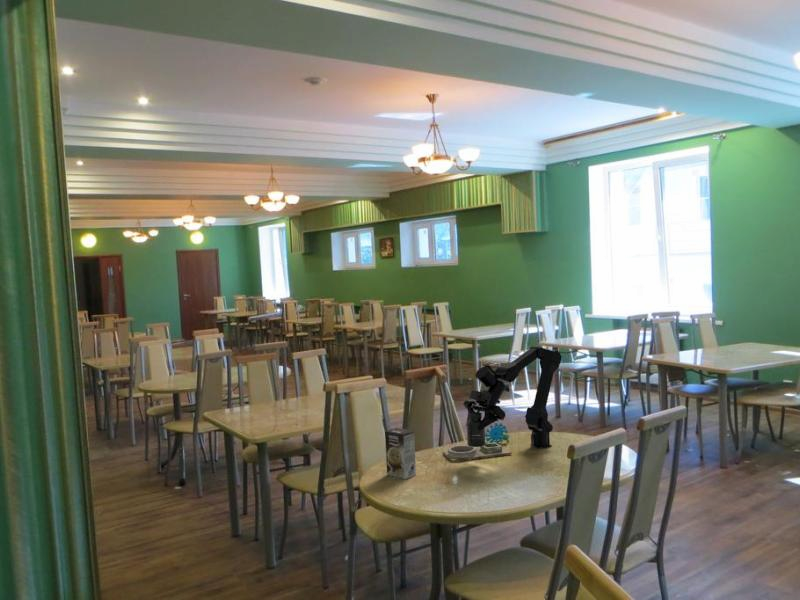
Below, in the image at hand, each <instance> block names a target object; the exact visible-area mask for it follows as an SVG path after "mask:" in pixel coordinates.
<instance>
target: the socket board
mask: <svg viewBox="0 0 800 600" xmlns="http://www.w3.org/2000/svg"><path fill="white" fill-rule="evenodd" d="M443 454H444V455H445V456H444V455H443ZM511 454H512V451H510V450H508V449H507V448H506V447H504V446H502V445H500V444H497V443H496V442H495V443H494V442H493V443H490V442H487V443H485V445H484V446H481V447H471V446H468V444H467V445H466V444H465V445H464V444H463V445H453V446H450V447H448V449H447V451H442V455H443V456H444V457H445V458H447V459H448V458H449V459H450V461H451V462H452V463H457V462H456V461H460V462H464V461H463V460H468V461H471V460H470V459H476V460H480V459H479V458H484V459H489V458H488V457H491V458H496V457H495V456H499V457H504V456H503V455H507V456H512V455H511ZM449 459H448V460H449Z"/></svg>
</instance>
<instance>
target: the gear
mask: <svg viewBox="0 0 800 600" xmlns="http://www.w3.org/2000/svg"><path fill="white" fill-rule="evenodd" d="M489 428H490V429H489ZM489 428H487V429H485V442H488V443H495V442H496V443H497V444H498V442H500V443H502V442H503V440H504V441H506V442H507V443H510V440H509V438H510V436H509V434H507V433H508V429H507V426H506V425H505V424H503V423H502V422H500V423H498V422H494V426H493V424H490V425H489ZM504 433H505V434H504Z"/></svg>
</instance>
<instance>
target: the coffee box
mask: <svg viewBox="0 0 800 600" xmlns="http://www.w3.org/2000/svg"><path fill="white" fill-rule="evenodd" d="M384 440H385V442H384V443H385V455H386V456H385V459H386V460H385V462H386V475H387V476H389V477H390V476H391V477H395V478H399V479H403V480H406V479H409V478H411V477H414V476H417V471H416V470H417V469H416V449H415V448H416V444H415V443H416V442H415V440H416V439H415V431H414V430H410V429H409V430H408V429H403V428H399V427H395V428H391V429H388V430H385V431H384Z"/></svg>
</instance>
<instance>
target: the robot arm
mask: <svg viewBox="0 0 800 600" xmlns="http://www.w3.org/2000/svg"><path fill="white" fill-rule="evenodd" d="M537 359H538V360H539V363H538V364H539V367H540V370H541V371H540V375H539V380H538V384H537V388H536V393H535V397H534V401H533V404H532V406H530V407H527V408H526V412H525V416H524V418H525V424H526V425H527V428H528V430H530V431H531V434H530V445H531V446H532V447H534V448H537V449H540V448H541V449H543V448H549V447H553V445H552V444H550V433H551V432H552V431H553V429H554V426H553V424H551V422H550V421H549V420H548V419H549V413H548V410H547V404H548V400H549V395H550V392H551V391H550V390H551V387H552V382H553V379H554V377H553V376H554V374H555V372H556V371H557V370H558V369H559V368H560V365H561V362H562V359H563V358H562V355H561V353H560V351H558V350H554V349H548V348H544V347H543V346H542V347H541V346H537V345H532V346H530V347H529V348H528V350H526V351H524V353H522V354H521V355H519V356H518V357H517V358H515V359H514V360H512V361H511V362H508V363H504V364H502V365H499V366H498V367H496V369H493V368H492V367H491V365H490V364H484V366H482V367H480V368H479V369H477V370H476V372H475V378H476V379H477V380H478V381H479V382H480V383H481V384H482V385H483V386H484V387H485V388H487V390H484V389H483V390H482V391H479V390H475V389H472V390H471V391H470V394H469V399H466V400H464V402H463V404H462V405H463V407H465V408H466V410H467V417H466V418H467V419H466V421H465V422H466V423H465V427H466V428H467V421H468V420H470V419H469V413H472V412H480V413H481V412H484V416H483V417H482V419H481V420H482V422H481V423H480V425H479V428H478V429H479V430H482V429H484V428H485V429H486V428H487V427H488V426H490V425H493V423H494V424H495V423H496V422H499V420H500V421H504V419H505V418H506V412H505V411H504V410H503V409H502V407H500V403H501V401H500V399H501V397H502V395H503V394H504V392H507V393H510V388H509V384H506V383H505V382H507V383H512V382H514V381H515V380H516V379H518V377H519V375H520V372H522V370H524V369H525V368H526V367H528V366H529V365H530V364H532V363H533V362H535V361H536V360H537ZM474 400H475V401H474ZM497 404H498V405H497Z"/></svg>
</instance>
